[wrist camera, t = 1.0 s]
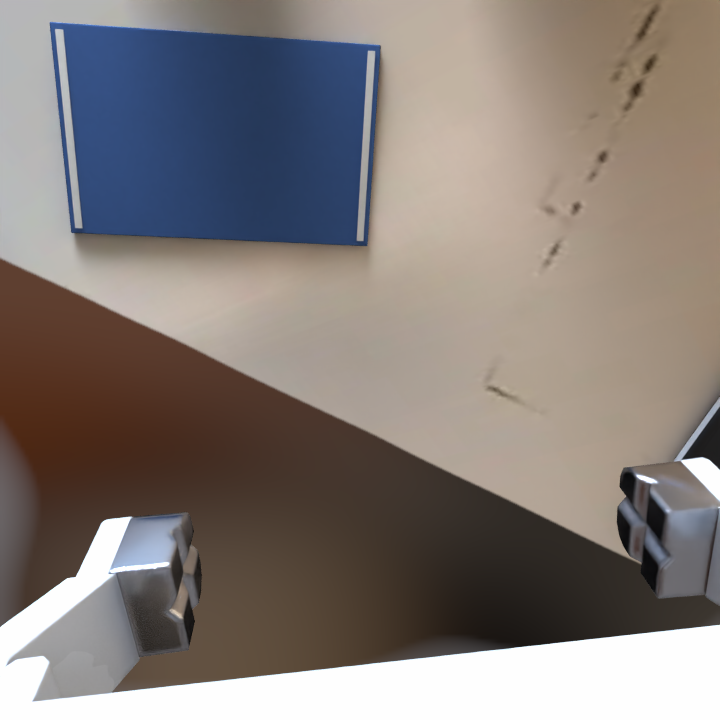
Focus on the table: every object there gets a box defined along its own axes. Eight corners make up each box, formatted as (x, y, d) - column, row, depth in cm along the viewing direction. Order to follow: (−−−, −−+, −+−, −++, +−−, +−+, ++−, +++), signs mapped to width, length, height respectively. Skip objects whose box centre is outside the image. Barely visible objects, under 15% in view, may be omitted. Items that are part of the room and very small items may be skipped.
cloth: (51, 22, 45) (48, 21, 44) (380, 45, 47) (380, 45, 46) (73, 231, 50) (70, 233, 50) (366, 244, 52) (367, 246, 52)
